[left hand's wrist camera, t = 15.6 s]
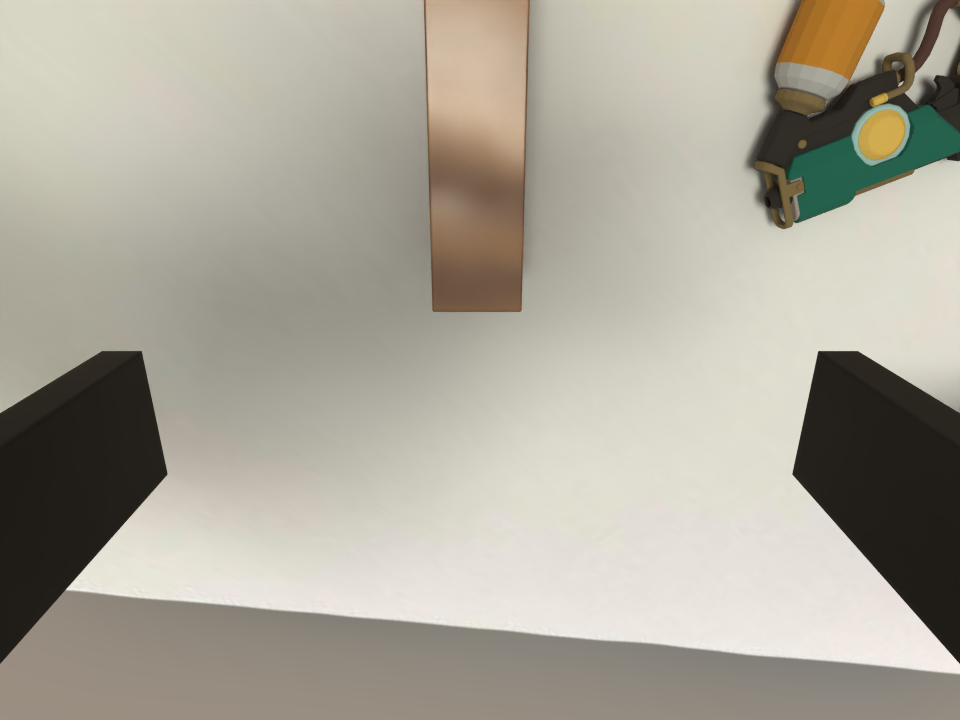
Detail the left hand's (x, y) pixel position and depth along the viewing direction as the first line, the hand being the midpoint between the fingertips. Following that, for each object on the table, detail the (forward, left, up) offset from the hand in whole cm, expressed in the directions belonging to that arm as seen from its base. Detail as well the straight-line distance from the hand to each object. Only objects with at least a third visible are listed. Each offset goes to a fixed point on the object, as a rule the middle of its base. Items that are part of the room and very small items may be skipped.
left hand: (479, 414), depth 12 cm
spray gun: (+24, +10, -31) cm, 40 cm away
